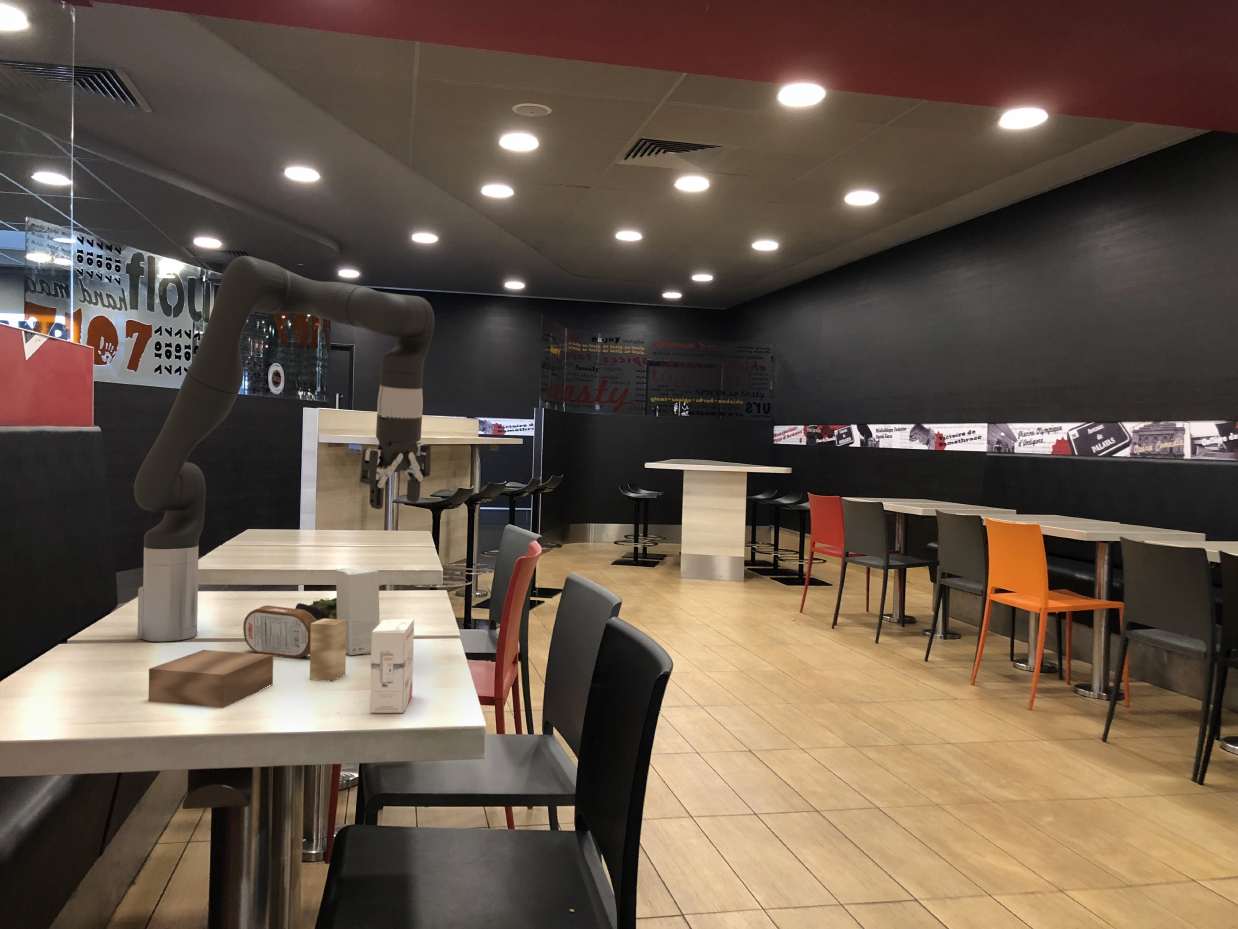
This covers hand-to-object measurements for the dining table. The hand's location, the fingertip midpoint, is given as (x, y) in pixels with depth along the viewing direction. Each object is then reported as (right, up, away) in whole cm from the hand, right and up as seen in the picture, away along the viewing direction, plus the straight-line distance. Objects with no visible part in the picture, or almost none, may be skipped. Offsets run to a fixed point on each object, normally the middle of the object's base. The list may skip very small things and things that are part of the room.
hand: (394, 504), depth 149 cm
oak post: (-8, -27, -12) cm, 31 cm away
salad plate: (-24, -27, +33) cm, 49 cm away
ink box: (+6, -28, -25) cm, 38 cm away
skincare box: (-9, -27, +7) cm, 29 cm away
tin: (-21, -27, +2) cm, 34 cm away
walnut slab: (-22, -27, -22) cm, 41 cm away
